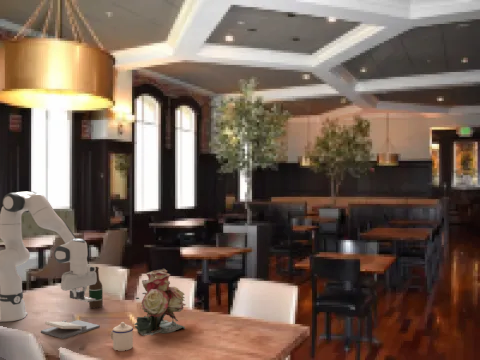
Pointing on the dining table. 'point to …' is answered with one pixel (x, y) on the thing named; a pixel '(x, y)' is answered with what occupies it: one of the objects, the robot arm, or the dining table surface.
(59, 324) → the tile
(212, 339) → the dining table surface
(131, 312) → the dining table surface
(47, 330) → the board
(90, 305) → the beer bottle
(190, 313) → the dining table surface
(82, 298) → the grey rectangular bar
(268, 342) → the dining table surface
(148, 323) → the rose bouquet
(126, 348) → the teacup with lid
